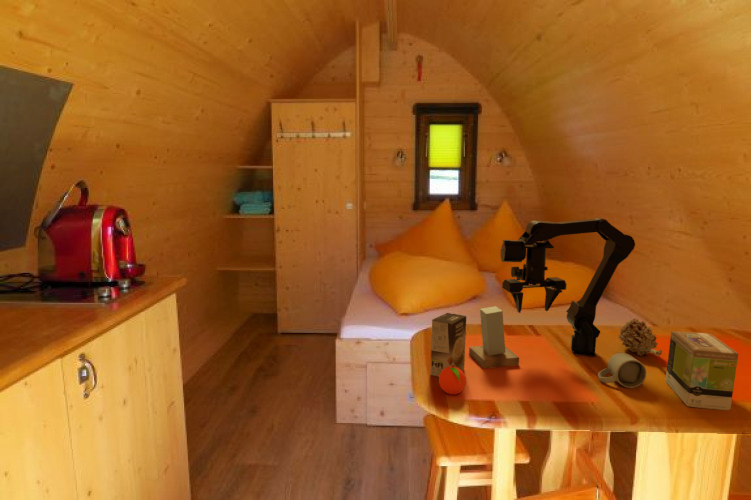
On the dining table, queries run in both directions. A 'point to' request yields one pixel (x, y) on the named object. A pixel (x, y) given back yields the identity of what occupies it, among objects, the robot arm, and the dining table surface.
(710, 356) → the tea box
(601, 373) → the ceramic mug
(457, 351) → the coffee box
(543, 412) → the dining table surface
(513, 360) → the walnut slab
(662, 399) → the dining table surface
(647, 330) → the pine cone
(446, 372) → the red tomato
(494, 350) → the wooden block
